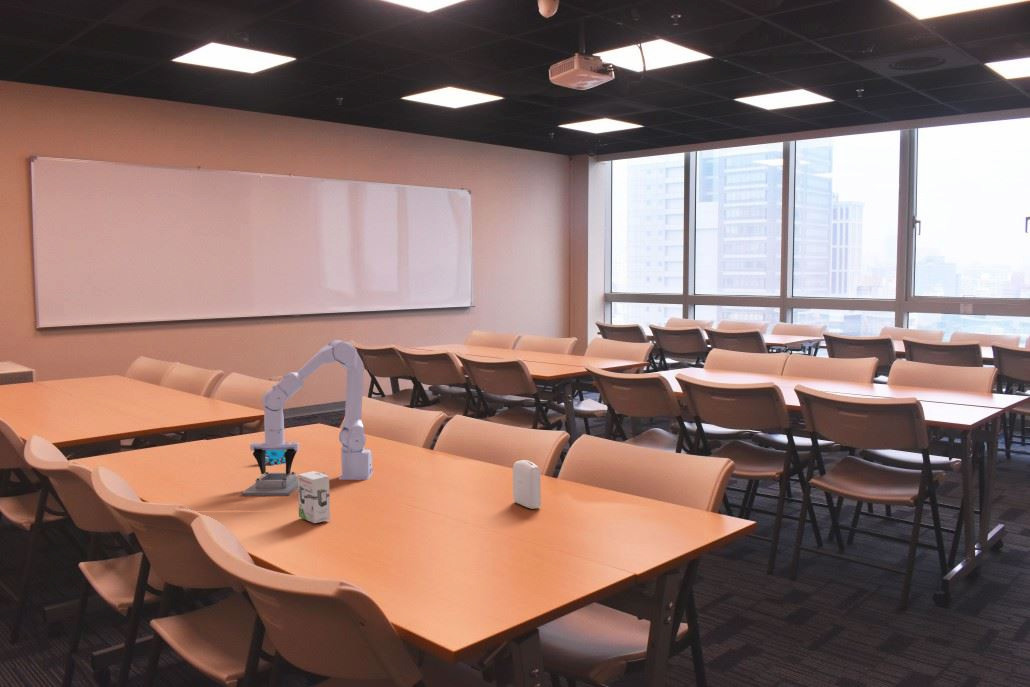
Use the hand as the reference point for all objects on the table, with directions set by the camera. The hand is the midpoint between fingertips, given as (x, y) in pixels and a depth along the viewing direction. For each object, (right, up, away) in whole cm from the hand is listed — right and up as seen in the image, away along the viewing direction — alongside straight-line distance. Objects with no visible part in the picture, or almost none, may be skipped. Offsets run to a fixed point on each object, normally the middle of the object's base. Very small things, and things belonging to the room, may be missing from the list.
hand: (275, 473), depth 251 cm
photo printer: (+76, -5, -22) cm, 80 cm away
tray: (0, -4, 0) cm, 4 cm away
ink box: (+20, -7, -33) cm, 39 cm away
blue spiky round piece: (-8, -3, +30) cm, 31 cm away
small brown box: (+13, -4, -2) cm, 14 cm away
